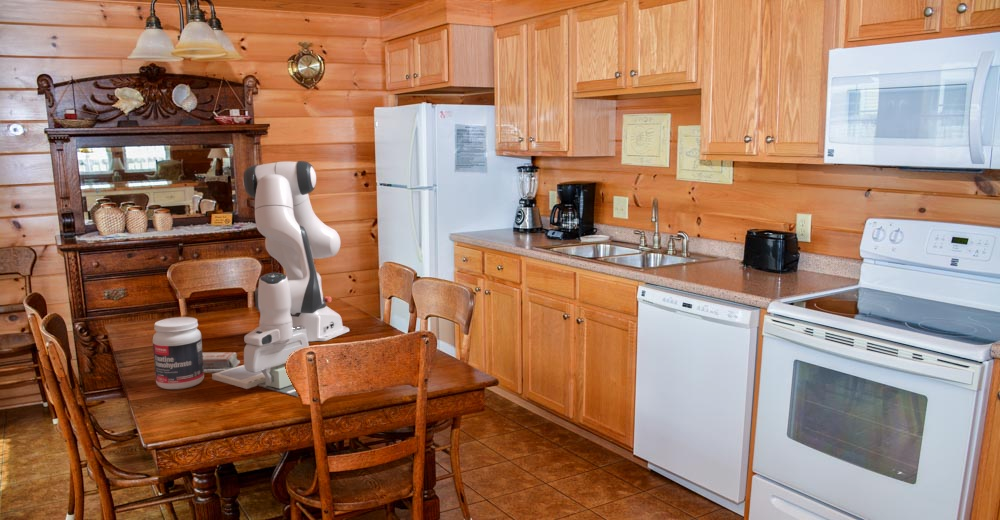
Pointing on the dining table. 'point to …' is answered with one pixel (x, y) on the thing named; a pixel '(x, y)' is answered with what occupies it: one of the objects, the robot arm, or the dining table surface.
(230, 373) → the board
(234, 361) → the packaged product
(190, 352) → the supplement tub
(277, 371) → the pale green cube
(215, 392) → the dining table surface
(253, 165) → the robot arm
